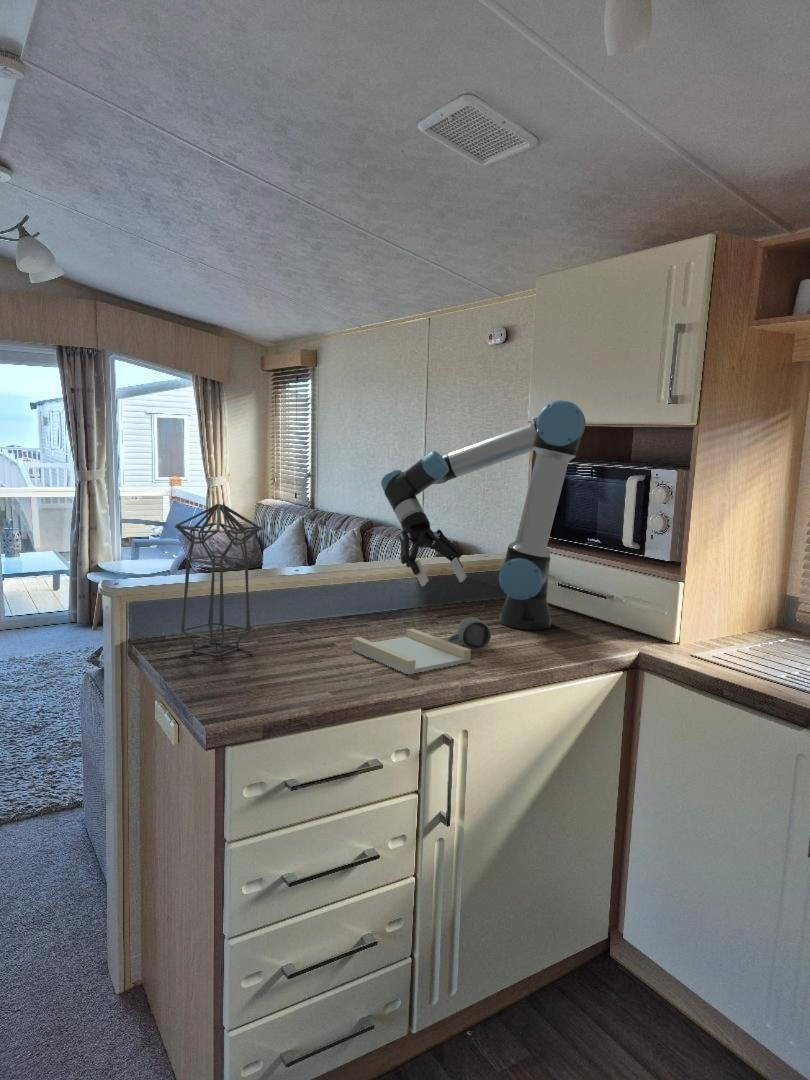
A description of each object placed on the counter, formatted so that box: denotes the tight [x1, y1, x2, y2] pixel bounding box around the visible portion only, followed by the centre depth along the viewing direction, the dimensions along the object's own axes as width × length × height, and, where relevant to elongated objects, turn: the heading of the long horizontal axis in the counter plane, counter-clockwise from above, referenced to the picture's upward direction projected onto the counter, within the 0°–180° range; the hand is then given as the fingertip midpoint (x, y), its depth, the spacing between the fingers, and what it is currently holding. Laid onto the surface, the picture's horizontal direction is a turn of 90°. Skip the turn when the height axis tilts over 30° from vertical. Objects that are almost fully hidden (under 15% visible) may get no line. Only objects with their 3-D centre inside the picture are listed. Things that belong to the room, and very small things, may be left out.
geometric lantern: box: [174, 503, 263, 657], centre depth 170 cm, size 16×16×35 cm
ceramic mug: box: [446, 616, 492, 652], centre depth 185 cm, size 11×8×8 cm
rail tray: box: [351, 628, 472, 675], centre depth 174 cm, size 19×22×3 cm
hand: (444, 581), depth 192 cm, fingers open, 13 cm apart
